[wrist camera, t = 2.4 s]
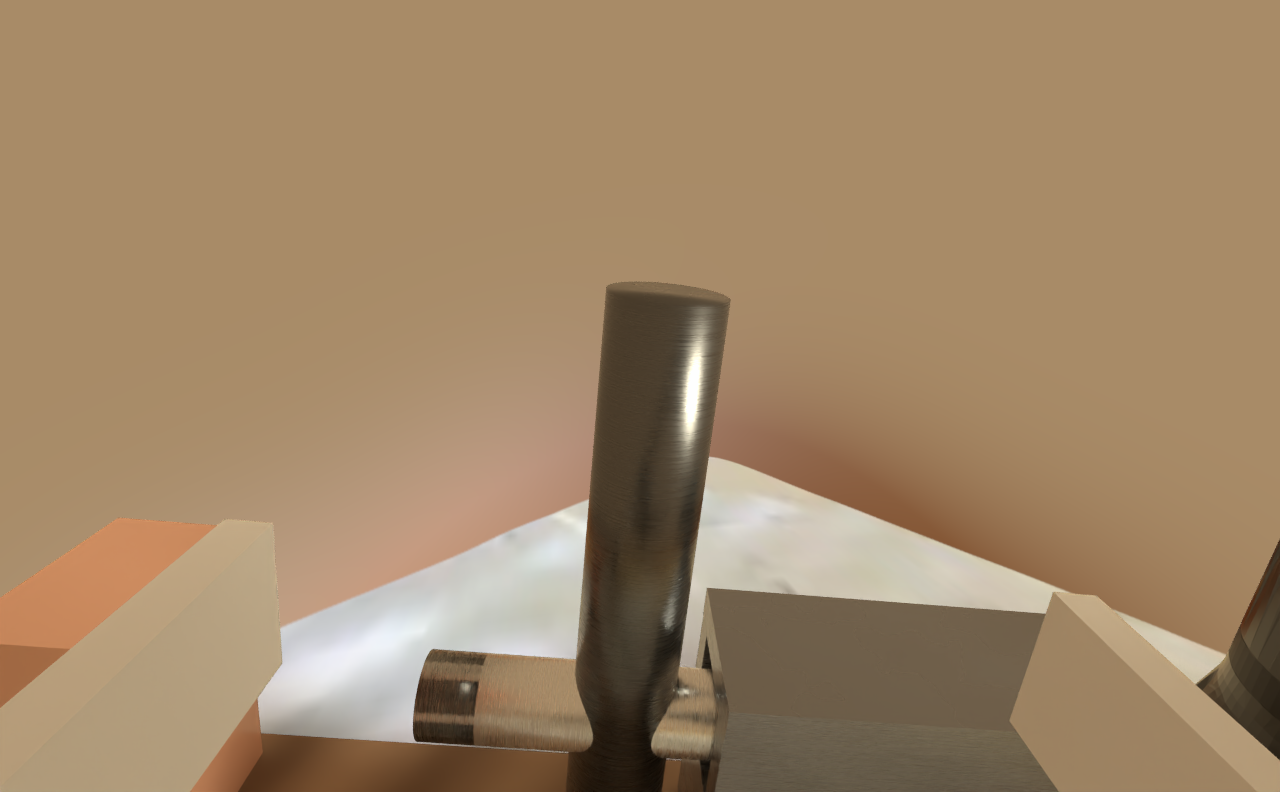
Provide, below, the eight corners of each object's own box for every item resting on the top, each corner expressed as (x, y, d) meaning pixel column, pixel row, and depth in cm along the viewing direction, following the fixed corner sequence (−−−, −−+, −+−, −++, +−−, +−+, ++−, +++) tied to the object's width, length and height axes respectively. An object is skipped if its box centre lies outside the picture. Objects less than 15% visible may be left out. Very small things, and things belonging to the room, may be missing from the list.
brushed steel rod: (1017, 798, 28) (1184, 332, 22) (1071, 884, 25) (1286, 362, 19) (439, 761, 27) (441, 261, 21) (411, 846, 24) (404, 279, 18)
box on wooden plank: (1032, 807, 30) (1102, 618, 27) (1132, 967, 24) (1238, 747, 21) (677, 785, 30) (706, 587, 26) (689, 943, 24) (729, 712, 20)
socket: (262, 752, 29) (240, 527, 26) (153, 924, 23) (103, 651, 19) (155, 745, 29) (118, 517, 26) (14, 916, 22) (-62, 639, 19)
